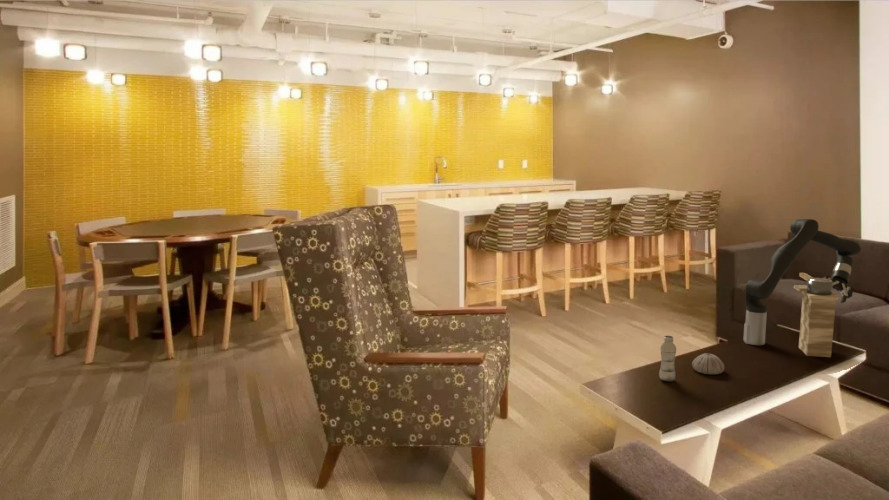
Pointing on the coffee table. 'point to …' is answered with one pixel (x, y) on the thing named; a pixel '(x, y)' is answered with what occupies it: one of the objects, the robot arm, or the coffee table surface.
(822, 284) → the saucepan
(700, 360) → the sea urchin shell
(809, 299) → the stand
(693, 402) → the coffee table surface
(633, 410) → the coffee table surface
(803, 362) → the coffee table surface
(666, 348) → the plastic bottle
